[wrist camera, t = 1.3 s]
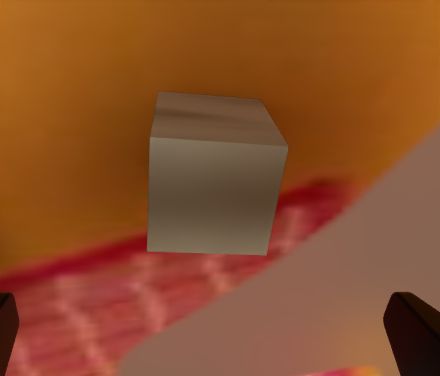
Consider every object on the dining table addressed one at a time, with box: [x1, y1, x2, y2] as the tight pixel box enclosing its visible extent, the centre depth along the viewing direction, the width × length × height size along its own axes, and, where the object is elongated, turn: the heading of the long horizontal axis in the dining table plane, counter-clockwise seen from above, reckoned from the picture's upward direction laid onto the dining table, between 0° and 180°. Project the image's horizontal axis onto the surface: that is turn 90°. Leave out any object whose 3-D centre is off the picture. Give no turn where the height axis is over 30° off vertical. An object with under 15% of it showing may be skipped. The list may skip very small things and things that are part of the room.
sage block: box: [147, 91, 289, 255], centre depth 18 cm, size 5×5×6 cm
